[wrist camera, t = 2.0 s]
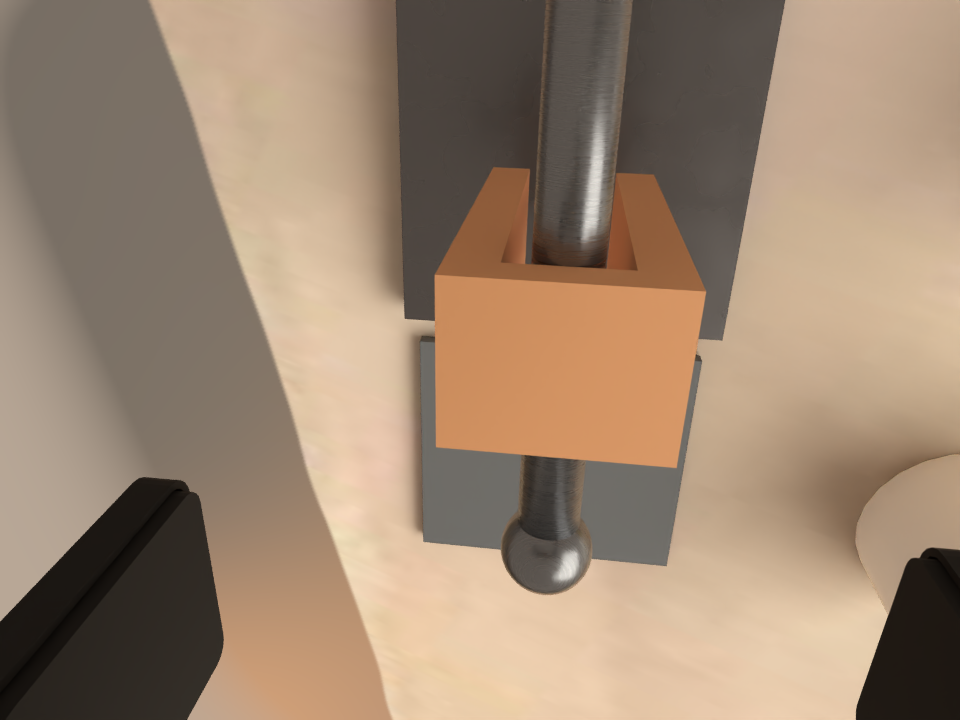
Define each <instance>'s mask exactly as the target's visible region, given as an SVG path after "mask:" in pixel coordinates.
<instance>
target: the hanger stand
mask: <svg viewBox="0 0 960 720" xmlns="http://www.w3.org/2000/svg"><path fill="white" fill-rule="evenodd" d="M784 4H785V0H396V17H397V53H398V90H399V127H400V164H401V201H402V238H403V275H404V312H405V319H416V320H430V321H435V273H436V272H437V270H438V268H439V266H440V264H441V262H442V261H443V259H444V257H445V255H446V253H447V251H448V250H449V248H450V246H451V244H452V242H453V240H454V239H455V237H456V235H457V233H458V231H459V230H460V228H461V226H462V224H463V222H464V220H465V219H466V217H467V215H468V213H469V211H470V209H471V208H472V206H473V204H474V202H475V200H476V198H477V197H478V195H479V193H480V191H481V189H482V187H483V186H484V184H485V182H486V180H487V178H488V176H489V175H490V173H491V171H492V169H493V167H499V168H521V169H530V177H529V197H528V217H527V237H526V257H525V264H534V265H551V266H568V267H585V268H601V269H607V259H608V249H609V239H610V230H611V220H612V210H613V200H614V190H615V181H616V173H630V174H652V175H654V176H655V178H656V180H657V183H658V185H659V187H660V189H661V191H662V194H663V196H664V198H665V200H666V203H667V205H668V207H669V209H670V212H671V214H672V216H673V218H674V221H675V223H676V225H677V227H678V230H679V232H680V234H681V236H682V238H683V241H684V243H685V245H686V247H687V250H688V252H689V254H690V256H691V259H692V261H693V263H694V265H695V268H696V270H697V272H698V274H699V276H700V279H701V281H702V283H703V285H704V288H705V290H706V296H705V302H704V308H703V314H702V320H701V326H700V332H699V338H698V339H709V340H722V339H723V334H724V329H725V323H726V318H727V312H728V307H729V301H730V296H731V291H732V285H733V280H734V274H735V269H736V264H737V258H738V253H739V247H740V242H741V236H742V231H743V226H744V220H745V215H746V209H747V204H748V199H749V193H750V188H751V182H752V177H753V171H754V166H755V161H756V155H757V150H758V144H759V139H760V134H761V128H762V123H763V117H764V112H765V106H766V101H767V96H768V90H769V85H770V79H771V74H772V69H773V63H774V58H775V52H776V47H777V41H778V36H779V31H780V25H781V20H782V14H783V9H784ZM585 466H586V460H578V459H566V458H554V457H543V456H531V455H521V462H520V481H519V499H518V511H517V512H516V513H515V514H514V515H513V516H512V517H511V518H510V520H509V521H508V522H507V524H506V526H505V529H504V531H503V534H502V539H501V555H502V560H503V562H504V565H505V568H506V570H507V571H508V573H509V575H510V576H511V577H512V579H513V580H514V581H515V582H516V583H517V584H519V585H520V586H521V587H523V588H524V589H526V590H528V591H530V592H533V593H536V594H541V595H554V594H559V593H562V592H565V591H567V590H569V589H571V588H572V587H574V586H575V585H576V584H577V583H578V582H579V581H580V580H581V579H582V578H583V577H584V575H585V574H586V572H587V570H588V568H589V565H590V562H591V558H592V540H591V536H590V533H589V530H588V528H587V526H586V524H585V522H584V521H583V519H582V518H581V517H580V515H581V505H582V495H583V486H584V476H585Z"/></svg>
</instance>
